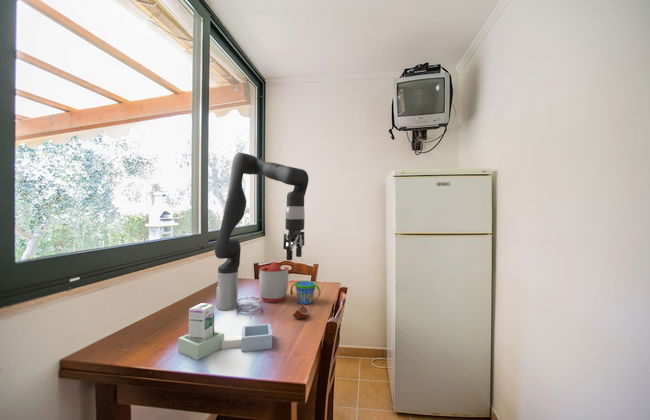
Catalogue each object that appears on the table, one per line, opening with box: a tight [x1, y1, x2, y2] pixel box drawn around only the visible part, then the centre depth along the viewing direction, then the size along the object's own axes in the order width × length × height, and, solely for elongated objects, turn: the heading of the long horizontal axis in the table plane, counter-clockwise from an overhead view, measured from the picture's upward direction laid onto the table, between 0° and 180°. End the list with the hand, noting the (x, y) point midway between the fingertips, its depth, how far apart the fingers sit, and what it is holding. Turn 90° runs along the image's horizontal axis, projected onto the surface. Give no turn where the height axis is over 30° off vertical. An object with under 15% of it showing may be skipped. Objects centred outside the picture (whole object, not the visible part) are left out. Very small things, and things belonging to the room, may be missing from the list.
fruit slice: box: [292, 304, 310, 320], centre depth 120 cm, size 8×7×5 cm
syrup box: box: [188, 302, 215, 343], centre depth 91 cm, size 6×6×14 cm
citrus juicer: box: [258, 262, 290, 304], centre depth 145 cm, size 16×17×20 cm
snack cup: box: [289, 280, 321, 305], centre depth 140 cm, size 16×10×10 cm
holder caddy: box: [177, 323, 273, 361], centre depth 93 cm, size 30×14×4 cm, turn 105°
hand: (294, 258), depth 108 cm, fingers open, 8 cm apart
